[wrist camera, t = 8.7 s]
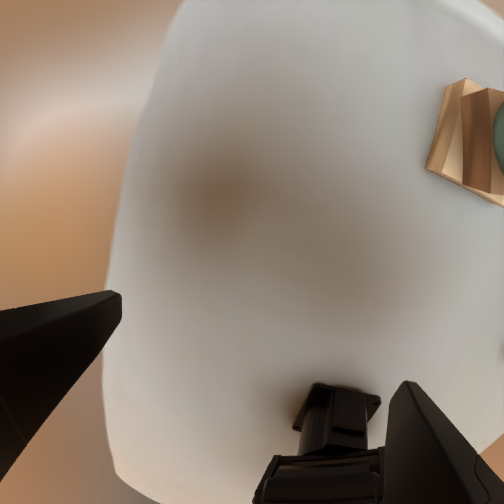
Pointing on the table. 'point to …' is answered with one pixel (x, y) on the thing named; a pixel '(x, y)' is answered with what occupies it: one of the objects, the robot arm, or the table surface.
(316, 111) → the table surface
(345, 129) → the table surface
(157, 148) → the table surface
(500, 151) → the sage green cylinder
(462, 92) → the tower base
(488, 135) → the tower top
